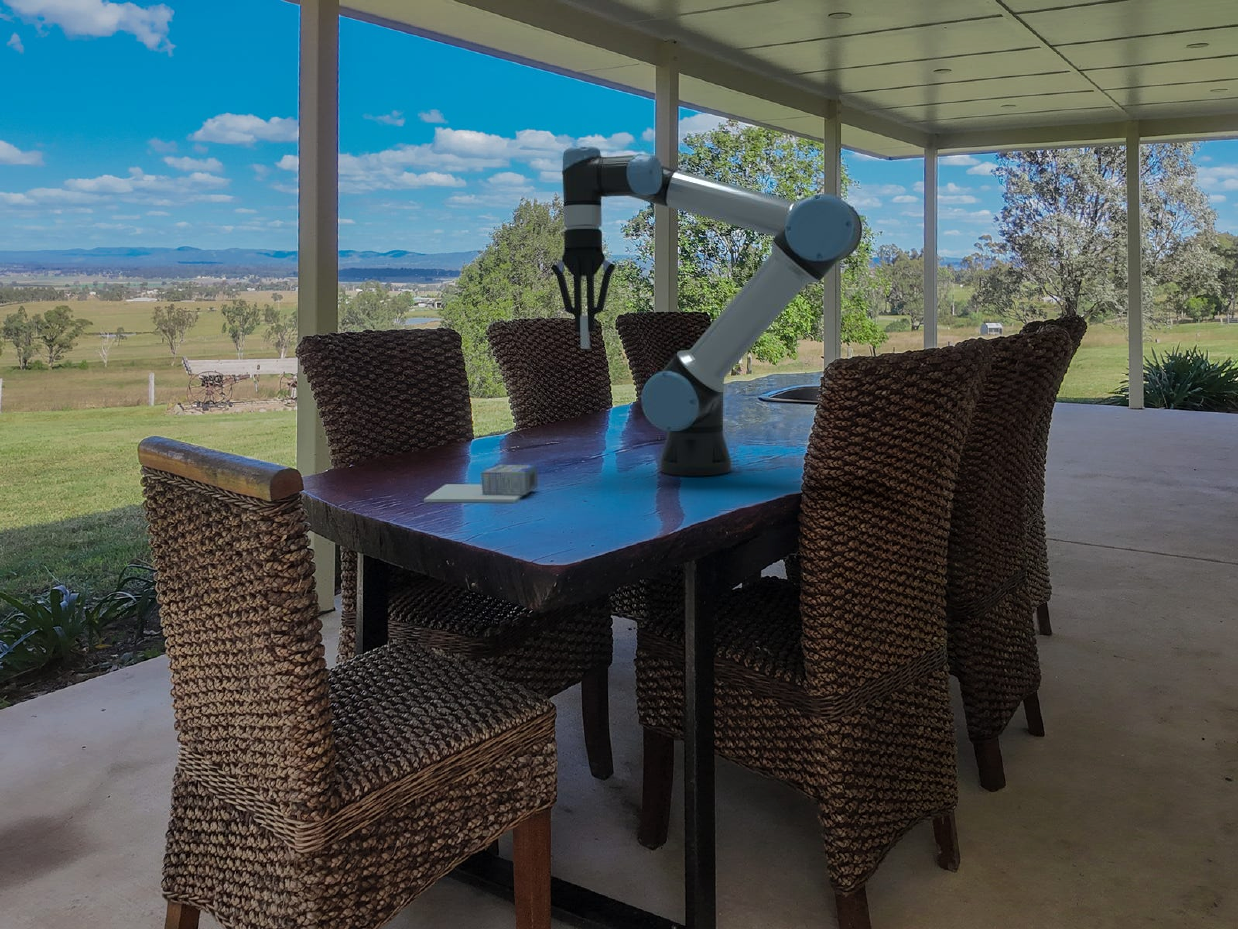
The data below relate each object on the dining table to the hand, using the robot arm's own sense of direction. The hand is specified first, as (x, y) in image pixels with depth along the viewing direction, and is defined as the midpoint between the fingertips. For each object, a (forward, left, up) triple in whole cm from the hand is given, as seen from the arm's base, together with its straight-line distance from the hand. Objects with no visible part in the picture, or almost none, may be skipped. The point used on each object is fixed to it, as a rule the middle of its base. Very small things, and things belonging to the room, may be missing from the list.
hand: (585, 348), depth 205 cm
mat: (+18, +20, -26) cm, 38 cm away
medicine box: (+8, +20, -24) cm, 32 cm away
